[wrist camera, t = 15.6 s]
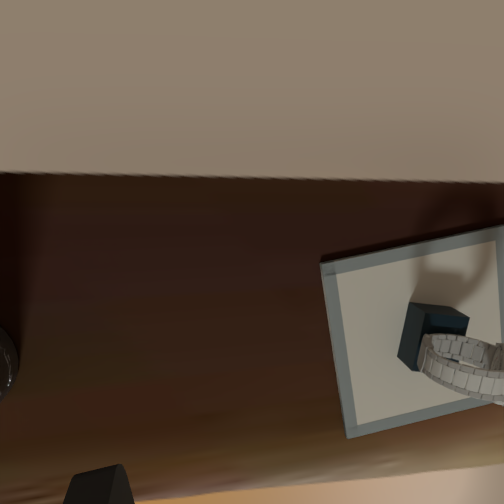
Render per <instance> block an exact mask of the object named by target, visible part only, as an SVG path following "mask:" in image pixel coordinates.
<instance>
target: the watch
mask: <svg viewBox="0 0 504 504" xmlns="http://www.w3.org/2000/svg"><path fill="white" fill-rule="evenodd" d="M469 320H470V317H468V316H466V315H465V314H463V313H461V312H459V311H458V310H456V309H454V308H452V307H451V306H442V305H433V304H423V303H414V302H409V304H408V308H407V313H406V317H405V322H404V326H403V331H402V335H401V340H400V344H399V349H398V354H397V357H398V358H399V359H400V360H401V361H402V362H403V363H404V364H405V365H406V366H407V367H408V368H409V369H410V370H411V371H415V372H421V373H424V374H425V375H426V376H427V377H428V378H430V379H431V380H433V381H434V382H436V383H438V384H440V385H443V386H444V387H446V388H448V389H450V390H452V391H455V392H457V393H460V394H462V395H465V396H467V395H468V396H469V397H473V398H476V399H482V400H487V401H492V402H494V403H495V404H499V405H503V406H504V343H496V345H492V344H490V343H487V342H484V341H481V340H480V341H479V340H478V339H474V338H470V337H466V332H467V328H468V324H469ZM467 338H468V339H467ZM478 343H479V344H478ZM473 345H474V347H473ZM472 349H473V351H472ZM471 353H472V355H471ZM470 357H471V358H470ZM462 358H463V360H462ZM459 361H463V362H466V363H469V364H473V362H474V364H473V365H474V366H477V367H479V368H477V367H475V369H474V367H473V366H469V365H465V364H462V365H461V364H460V363H459ZM460 367H461V368H460ZM468 373H469V375H468ZM453 376H454V378H453ZM467 377H468V379H467ZM452 380H453V382H452ZM466 381H467V383H466ZM465 385H466V387H465ZM455 387H456V388H455ZM468 391H469V392H468Z"/></svg>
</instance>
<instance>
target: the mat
mask: <svg viewBox="0 0 504 504" xmlns="http://www.w3.org/2000/svg"><path fill="white" fill-rule="evenodd" d="M320 269H321V276H322V283H323V290H324V296H325V303H326V310H327V316H328V323H329V330H330V336H331V343H332V350H333V357H334V363H335V370H336V377H337V383H338V390H339V397H340V403H341V410H342V417H343V424H344V430H345V436H346V438H347V439H350V438H354V437H358V436H362V435H366V434H370V433H374V432H378V431H382V430H386V429H390V428H394V427H398V426H402V425H406V424H410V423H414V422H418V421H422V420H426V419H430V418H434V417H438V416H442V415H446V414H450V413H454V412H458V411H462V410H466V409H470V408H474V407H478V406H482V405H486V404H490V403H494V402H492V401H487V400H482V399H476V398H473V397H469V396H468V395H467V396H465V395H462V394H460V393H457V392H455V391H452V390H450V389H448V388H446V387H444V386H443V385H440V384H438V383H436V382H434V381H433V380H431V379H430V378H428V377H427V376H426V375H425V374H424V373H421V372H415V371H411V370H410V369H409V368H408V367H407V366H406V365H405V364H404V363H403V362H402V361H401V360H400V359H399V358H398V357H397V354H398V349H399V344H400V340H401V335H402V331H403V326H404V322H405V317H406V313H407V308H408V304H409V302H414V303H423V304H433V305H442V306H451V307H452V308H454V309H456V310H458V311H459V312H461V313H463V314H465V315H466V316H468V317H470V320H469V324H468V328H467V332H466V337H470V338H474V339H478V340H479V341H480V340H481V341H484V342H487V343H490V344H492V345H496V343H504V225H497V226H493V227H488V228H483V229H478V230H474V231H469V232H464V233H459V234H455V235H450V236H445V237H440V238H436V239H431V240H426V241H422V242H417V243H412V244H407V245H403V246H398V247H393V248H388V249H384V250H379V251H374V252H369V253H365V254H360V255H355V256H350V257H346V258H341V259H336V260H331V261H327V262H322V263H320ZM467 339H468V338H467ZM478 344H479V343H478ZM473 347H474V345H473ZM472 351H473V349H472ZM471 355H472V353H471ZM470 358H471V357H470ZM462 360H463V358H462ZM459 363H460V364H461V365H462V364H465V365H469V366H473V367H474V369H475V367H477V366H474V365H473V364H474V362H473V364H469V363H466V362H463V361H459ZM460 368H461V367H460ZM477 368H479V367H477ZM468 375H469V373H468ZM453 378H454V376H453ZM467 379H468V377H467ZM452 382H453V380H452ZM466 383H467V381H466ZM465 387H466V385H465ZM455 388H456V387H455ZM468 392H469V391H468Z"/></svg>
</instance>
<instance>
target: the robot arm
mask: <svg viewBox="0 0 504 504" xmlns="http://www.w3.org/2000/svg"><path fill="white" fill-rule="evenodd" d="M18 363H19V360H18V355H17V350H16V348H15V346H14V343H13V341H12V340H11V338H10V337H9V336H8V334H7V333H6V331H5V330H3V329H2V328H1V327H0V403H1V401H2V400H3V399H4V397H5V396H6V395H7V393H8V392H9V391H10V389H11V387H12V386H13V384H14V382H15V380H16V377H17V373H18ZM63 504H135V503H134V499H133V496H132V492H131V488H130V485H129V481H128V478H127V474H126V471H125V469H124V467H123V466H122V464H117V465H112V466H108V467H104V468H100V469H96V470H92V471H88V472H84V473H80V474H76V475H74V476H73V478H72V480H71V482H70V485H69V488H68V490H67V493H66V496H65V499H64V502H63Z"/></svg>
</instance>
